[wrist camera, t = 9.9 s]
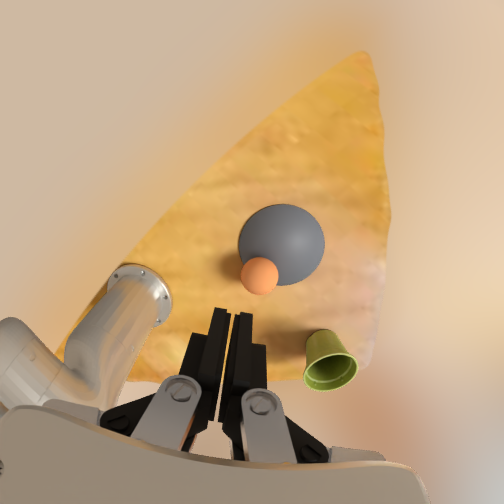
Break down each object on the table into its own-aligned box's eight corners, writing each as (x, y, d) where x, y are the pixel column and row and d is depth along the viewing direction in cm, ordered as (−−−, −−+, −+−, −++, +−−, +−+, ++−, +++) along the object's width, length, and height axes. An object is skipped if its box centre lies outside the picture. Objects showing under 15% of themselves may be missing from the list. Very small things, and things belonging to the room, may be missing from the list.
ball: (250, 306, 40) (279, 295, 37) (227, 278, 39) (255, 263, 36) (262, 285, 44) (289, 273, 41) (242, 259, 43) (268, 244, 40)
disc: (301, 295, 44) (301, 296, 44) (226, 267, 42) (226, 268, 42) (338, 225, 40) (338, 225, 39) (259, 190, 38) (259, 190, 38)
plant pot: (347, 317, 46) (361, 348, 38) (344, 355, 49) (355, 386, 41) (296, 325, 46) (302, 358, 38) (298, 362, 50) (303, 395, 42)
